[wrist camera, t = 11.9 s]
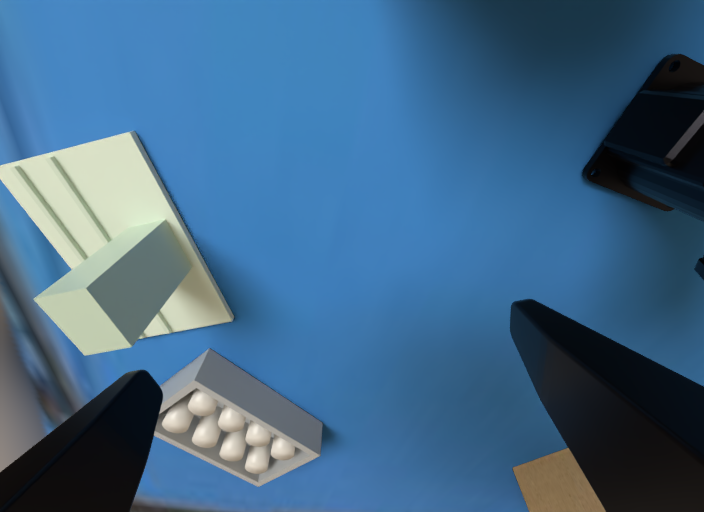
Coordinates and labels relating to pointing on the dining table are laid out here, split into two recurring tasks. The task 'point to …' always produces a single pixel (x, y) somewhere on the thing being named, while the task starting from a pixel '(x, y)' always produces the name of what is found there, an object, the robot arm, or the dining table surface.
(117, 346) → the pale green grooved stand
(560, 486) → the sandwich container
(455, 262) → the dining table surface
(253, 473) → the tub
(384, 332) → the dining table surface
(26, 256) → the dining table surface
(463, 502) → the dining table surface
